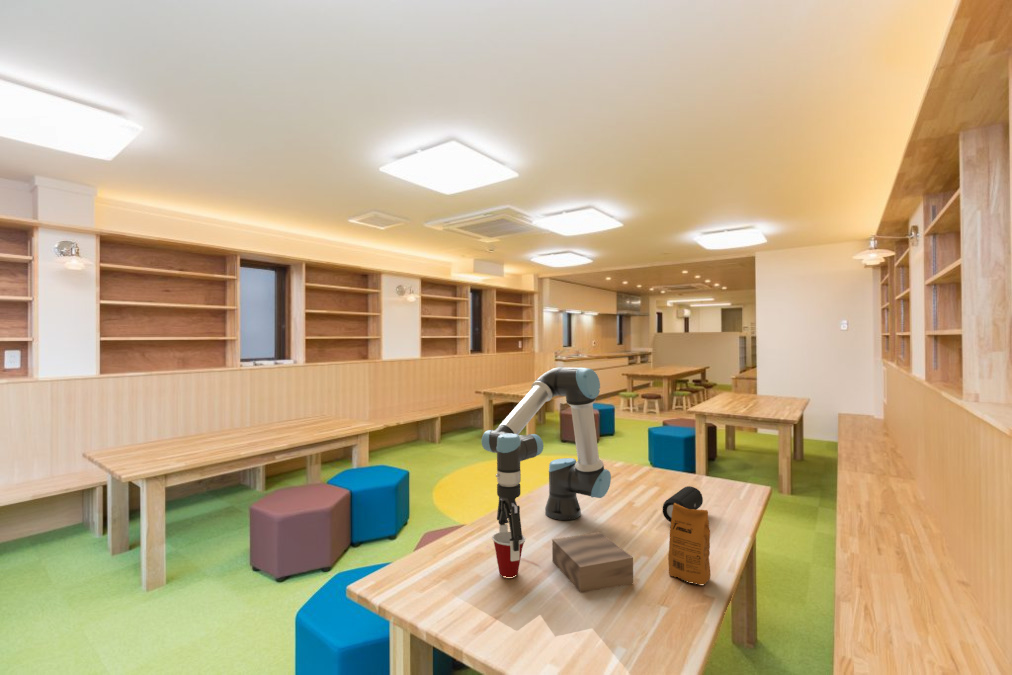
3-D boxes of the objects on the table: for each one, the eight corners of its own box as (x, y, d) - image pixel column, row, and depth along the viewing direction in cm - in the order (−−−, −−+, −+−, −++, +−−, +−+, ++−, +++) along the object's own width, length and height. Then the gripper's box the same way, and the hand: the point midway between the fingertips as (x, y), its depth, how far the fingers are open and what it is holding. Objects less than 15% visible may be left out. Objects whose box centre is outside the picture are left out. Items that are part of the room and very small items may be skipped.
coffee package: (675, 564, 152) (675, 497, 152) (714, 576, 143) (714, 506, 143) (663, 575, 144) (662, 505, 144) (703, 589, 136) (702, 515, 136)
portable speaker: (684, 528, 181) (684, 503, 181) (660, 522, 187) (660, 497, 187) (704, 510, 200) (704, 487, 200) (681, 505, 207) (681, 482, 207)
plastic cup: (533, 573, 146) (532, 535, 146) (511, 586, 138) (510, 547, 138) (507, 562, 153) (507, 526, 153) (485, 574, 145) (485, 537, 145)
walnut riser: (552, 563, 153) (552, 539, 153) (599, 555, 158) (599, 531, 158) (580, 594, 134) (580, 567, 134) (633, 583, 139) (632, 557, 139)
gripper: (487, 474, 156) (487, 538, 156) (509, 496, 134) (509, 571, 134) (508, 472, 158) (508, 535, 158) (533, 493, 136) (533, 567, 136)
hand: (509, 552), depth 146 cm, fingers closed on plastic cup, 11 cm apart
